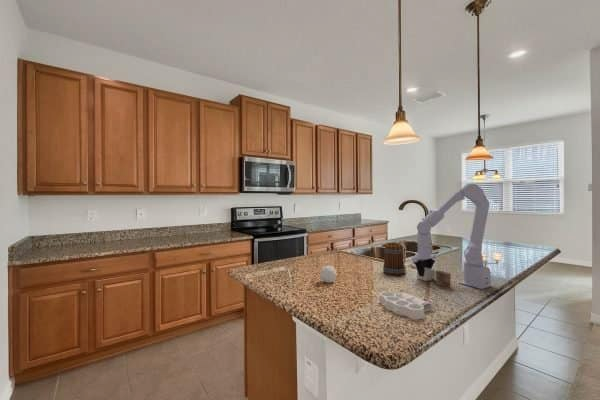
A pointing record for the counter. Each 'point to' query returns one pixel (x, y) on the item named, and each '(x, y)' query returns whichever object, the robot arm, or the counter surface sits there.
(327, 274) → the ball
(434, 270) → the door
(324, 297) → the counter surface
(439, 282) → the wall
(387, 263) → the mug
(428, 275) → the white small block
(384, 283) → the counter surface
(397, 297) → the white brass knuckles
